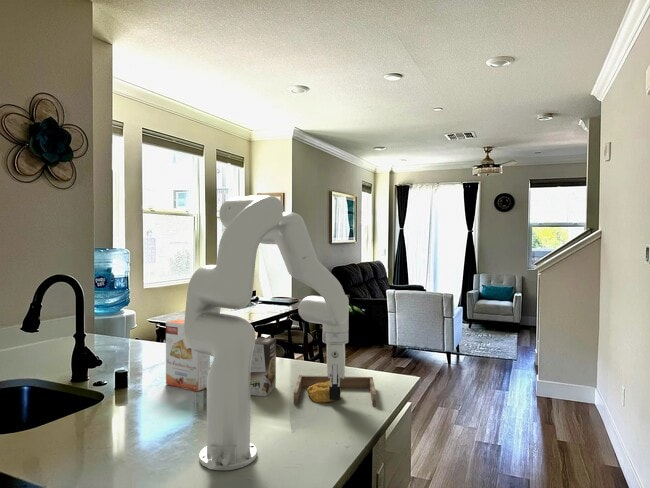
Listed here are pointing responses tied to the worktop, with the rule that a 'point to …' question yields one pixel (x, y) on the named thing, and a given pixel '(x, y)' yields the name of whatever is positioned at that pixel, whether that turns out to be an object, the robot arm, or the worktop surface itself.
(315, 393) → the bagel
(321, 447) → the worktop surface
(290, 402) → the worktop surface
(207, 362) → the cracker box
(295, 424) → the worktop surface
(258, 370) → the coffee box
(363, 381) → the box
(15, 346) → the worktop surface
